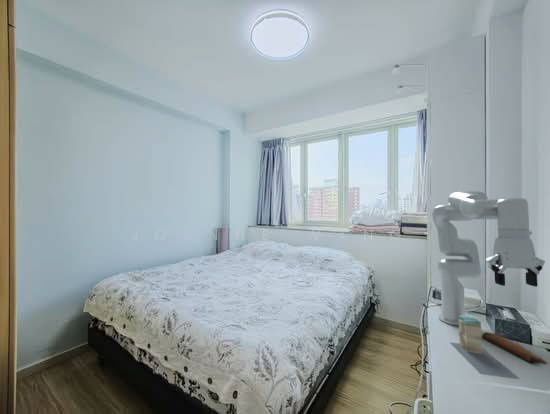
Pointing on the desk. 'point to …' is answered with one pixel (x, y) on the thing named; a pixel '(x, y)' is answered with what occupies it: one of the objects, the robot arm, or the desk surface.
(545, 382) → the desk surface
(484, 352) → the charcoal mat
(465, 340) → the wooden block
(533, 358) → the sunglasses case
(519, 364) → the desk surface
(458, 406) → the desk surface
